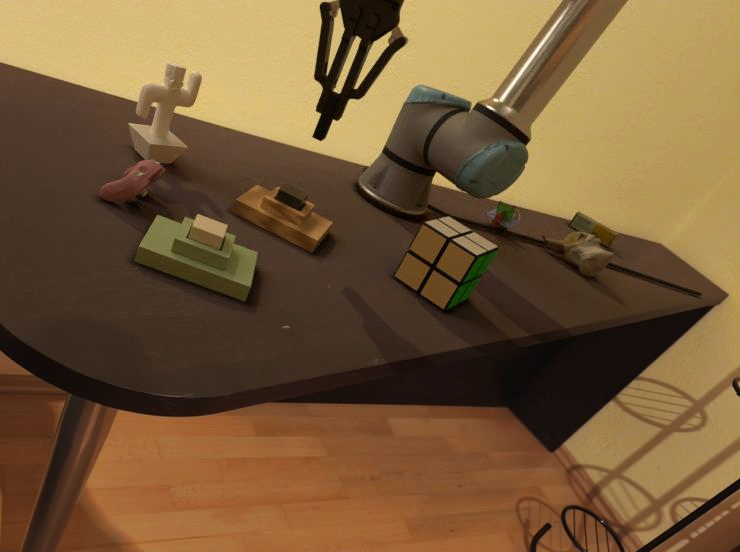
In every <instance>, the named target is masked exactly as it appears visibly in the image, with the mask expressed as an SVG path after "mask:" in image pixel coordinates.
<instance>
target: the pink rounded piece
mask: <svg viewBox="0 0 740 552" xmlns="http://www.w3.org/2000/svg"><path fill="white" fill-rule="evenodd" d="M165 172H166V168H165V167H164V165H163V163H159V162H156V161H155V160H154V158H153V160H145V159H143V160H140V161H138V162H137V163H136V165H134V166H130V167H128V168H127V169H126V170H125V171H124V173H123V177H122V178H120V179H118V180H114V181H111V182H108V183H105V184H103V186H101V187H100V189H99V191H98V192H99V196H100V198H101V199H102V200H103V201H106V202H110V203H119V202H124V201H126V202H127V203H131V202H132V201H134V199H136V198H137V196H138V197H139V196H140V197H141V198H142V197H145V196H146V195H148V192H149V190H147V189H148V188H149V187H150V186H151V185H152V184H153V183H156V182H157V181H158V180H159V179H160V178H161V177H162V175H163V174H164V173H165Z"/></svg>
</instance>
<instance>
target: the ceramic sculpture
mask: <svg viewBox="0 0 740 552" xmlns="http://www.w3.org/2000/svg"><path fill="white" fill-rule="evenodd" d="M541 238H542V241H545V243H546V245H547V246H546V247H547V248H548V249H549V250H550V251H552V252H553V253H555V254H558V255H560V256H561V258H562V259H563V260H564V261H565V262H567V263H568V264H569V265H571V266H574V267H575V266H576V267H578V268H579V273H580V274H581V275H583V276H585V277H588V278H589V277H592V276H593V277H594V276H597V274H599V273H601V271H603V270H604V269H606V267H607V266H608V264H609V262H611V261H612V260H613V258H614V257H615V252H611V251H608V250H607V251H606V250H604V249H603V248H602V247H601V241H600V238H599V236H598V235H597V234H596V233H595V232H592V233H590V234H589V235H588V234H587V233H584V232H580V231H579V230H576V231H573V232H570V233H568V234H567V235H566V236H565V237H564V239H563V240H558V239H557V238H549V237H547V236H545V235H543V234H542V235H541Z"/></svg>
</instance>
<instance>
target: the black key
mask: <svg viewBox="0 0 740 552" xmlns="http://www.w3.org/2000/svg"><path fill="white" fill-rule="evenodd" d="M309 195H310V194H309V193H307V192H305V191H303V190H301V189H299V188H297V187H295V186H293V185H291V184H289V183H287V182H286V183H285V184H284V185H282V186H281V187H280V189H279V190H278V193H277V195H276V198H275V199H276V200H278V201H280V202H282V203H284V204H286V205H288V206H290V207H292V208H294V209H296V210H298V211H299V210H300V209H301V208H302V207H303V206H304V205H305V203H306V201H308V197H310V196H309Z"/></svg>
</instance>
